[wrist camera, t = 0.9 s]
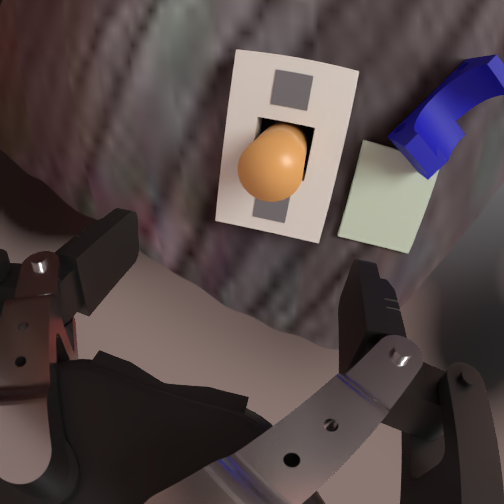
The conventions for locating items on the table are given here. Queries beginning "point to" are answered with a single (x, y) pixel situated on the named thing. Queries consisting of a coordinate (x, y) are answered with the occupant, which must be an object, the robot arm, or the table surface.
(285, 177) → the plug
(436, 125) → the cable clip
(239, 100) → the white slab with hole
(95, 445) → the robot arm
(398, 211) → the mat
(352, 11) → the table surface
